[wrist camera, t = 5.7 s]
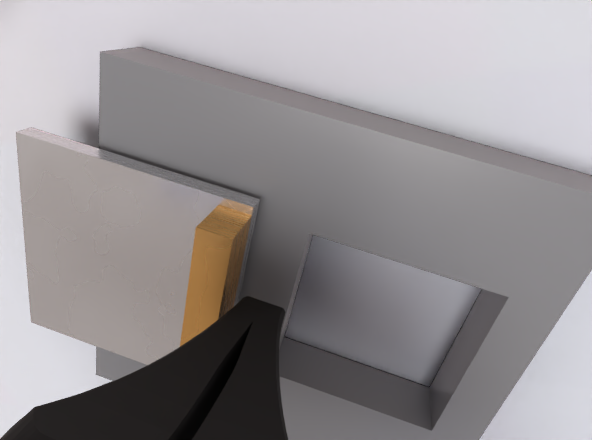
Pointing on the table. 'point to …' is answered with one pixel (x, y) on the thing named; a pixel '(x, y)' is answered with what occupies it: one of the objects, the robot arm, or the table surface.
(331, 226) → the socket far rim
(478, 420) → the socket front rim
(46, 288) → the panel
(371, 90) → the table surface
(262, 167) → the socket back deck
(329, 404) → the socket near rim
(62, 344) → the table surface
